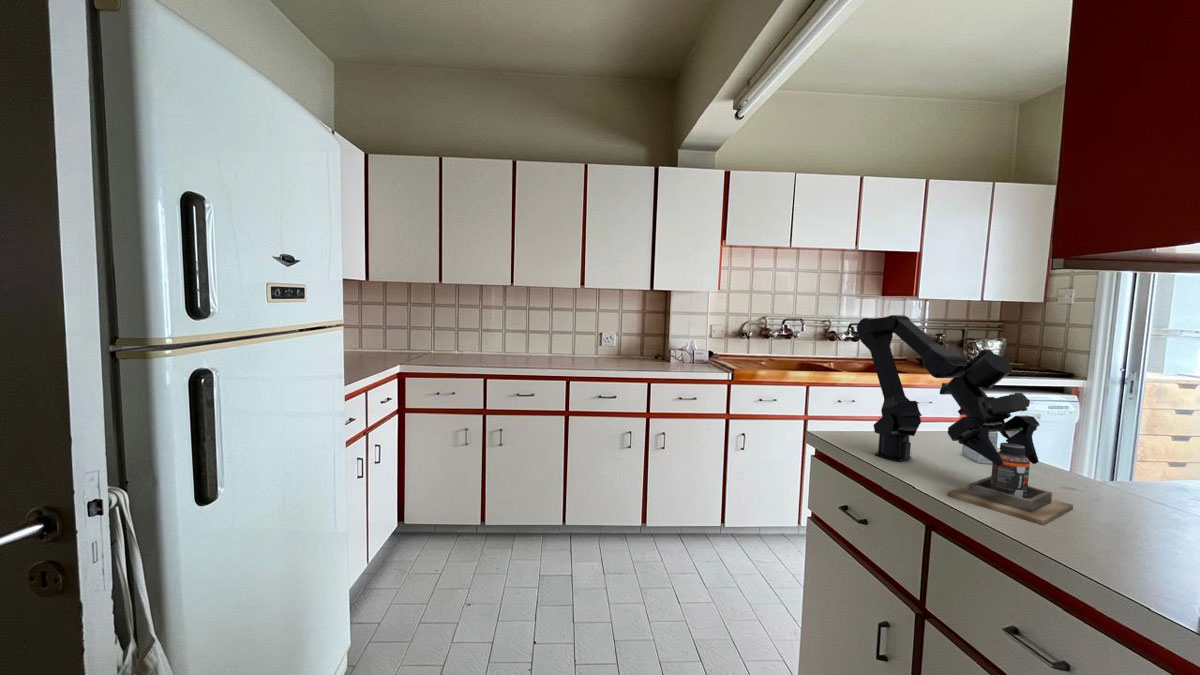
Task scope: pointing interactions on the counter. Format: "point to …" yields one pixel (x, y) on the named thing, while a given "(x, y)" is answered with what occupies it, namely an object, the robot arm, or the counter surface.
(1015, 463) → the supplement bottle
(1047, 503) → the socket board
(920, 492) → the counter surface
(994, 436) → the medicine box
